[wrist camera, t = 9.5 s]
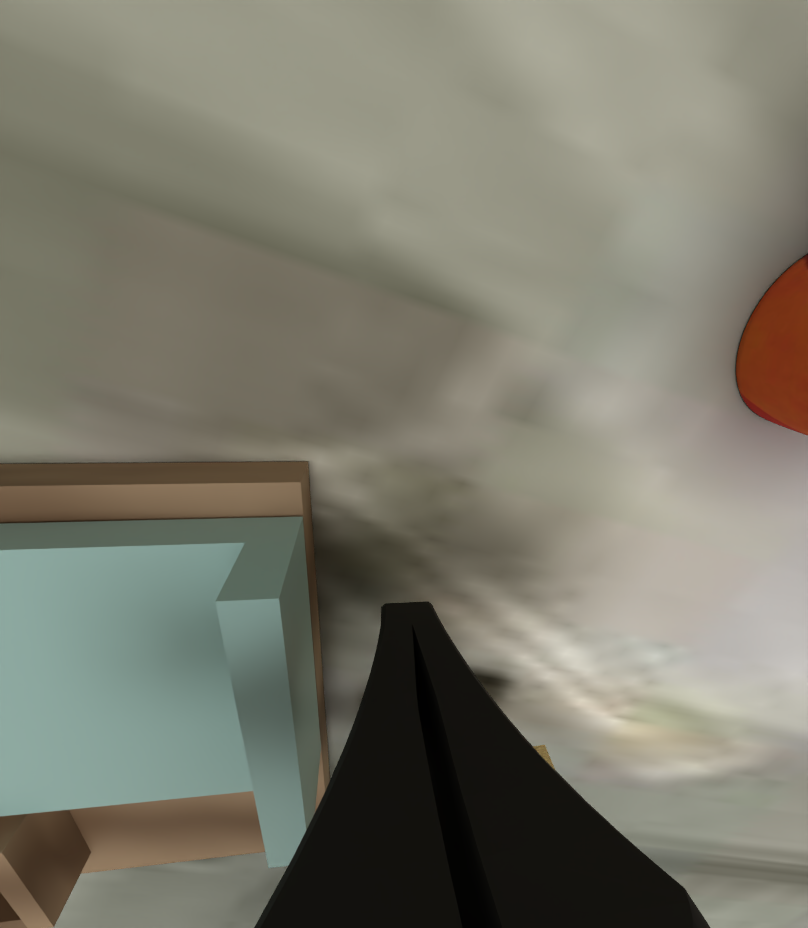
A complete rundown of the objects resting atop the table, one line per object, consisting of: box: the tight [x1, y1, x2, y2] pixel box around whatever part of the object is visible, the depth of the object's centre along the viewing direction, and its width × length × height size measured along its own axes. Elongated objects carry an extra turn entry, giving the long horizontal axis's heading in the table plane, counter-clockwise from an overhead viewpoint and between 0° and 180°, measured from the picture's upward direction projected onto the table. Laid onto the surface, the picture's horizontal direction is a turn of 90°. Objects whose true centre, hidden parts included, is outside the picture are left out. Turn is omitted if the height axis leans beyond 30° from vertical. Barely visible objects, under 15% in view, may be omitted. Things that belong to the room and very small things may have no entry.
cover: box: [0, 517, 321, 868], centre depth 10 cm, size 10×10×3 cm
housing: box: [0, 462, 330, 928], centre depth 12 cm, size 18×16×4 cm
